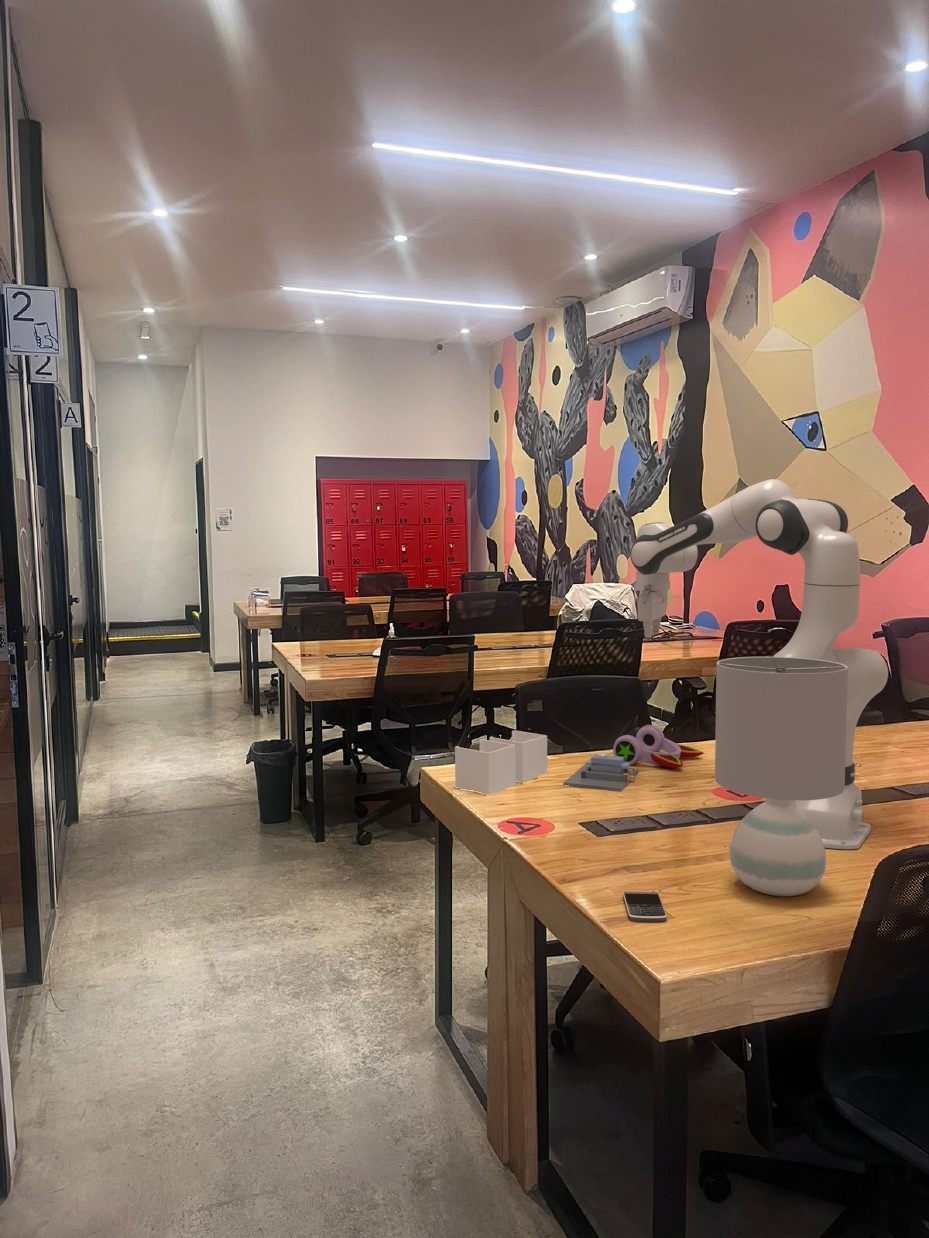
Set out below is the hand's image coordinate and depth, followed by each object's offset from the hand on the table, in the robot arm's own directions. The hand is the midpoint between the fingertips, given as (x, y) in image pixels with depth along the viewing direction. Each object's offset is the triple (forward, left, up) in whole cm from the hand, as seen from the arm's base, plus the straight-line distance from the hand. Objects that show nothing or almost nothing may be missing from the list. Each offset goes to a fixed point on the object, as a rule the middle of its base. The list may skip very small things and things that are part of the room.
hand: (652, 635), depth 235 cm
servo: (-12, +9, -37) cm, 40 cm away
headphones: (+13, 0, -38) cm, 40 cm away
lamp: (-72, -37, -37) cm, 89 cm away
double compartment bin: (-24, +34, -38) cm, 56 cm away
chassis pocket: (-12, +10, -37) cm, 40 cm away
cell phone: (-90, -17, -38) cm, 99 cm away
